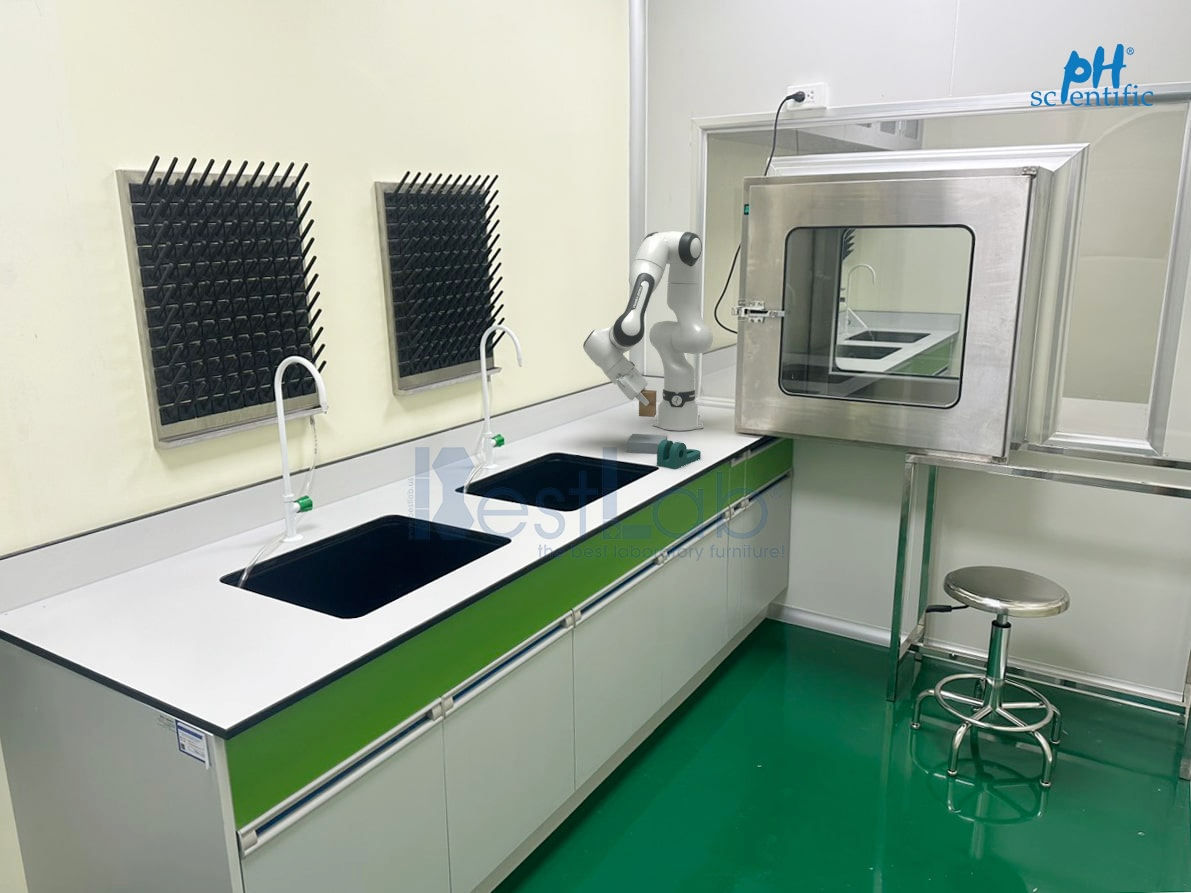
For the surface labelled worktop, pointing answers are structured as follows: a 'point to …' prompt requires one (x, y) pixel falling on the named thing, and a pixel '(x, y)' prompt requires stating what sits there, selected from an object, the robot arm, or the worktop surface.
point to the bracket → (675, 454)
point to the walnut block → (651, 407)
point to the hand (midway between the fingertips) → (649, 402)
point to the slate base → (644, 443)
